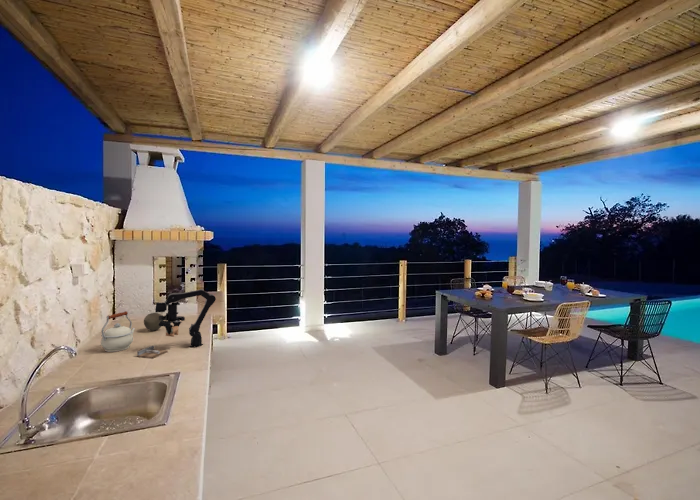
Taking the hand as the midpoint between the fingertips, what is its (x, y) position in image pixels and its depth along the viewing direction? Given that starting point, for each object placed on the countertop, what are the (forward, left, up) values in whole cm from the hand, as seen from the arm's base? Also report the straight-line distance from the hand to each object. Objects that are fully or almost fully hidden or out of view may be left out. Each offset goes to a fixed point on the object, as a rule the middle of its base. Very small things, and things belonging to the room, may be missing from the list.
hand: (172, 333), depth 224 cm
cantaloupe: (+46, -33, -11) cm, 58 cm away
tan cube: (0, 0, -2) cm, 2 cm away
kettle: (+36, +8, -11) cm, 39 cm away
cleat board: (+4, +13, -11) cm, 17 cm away
